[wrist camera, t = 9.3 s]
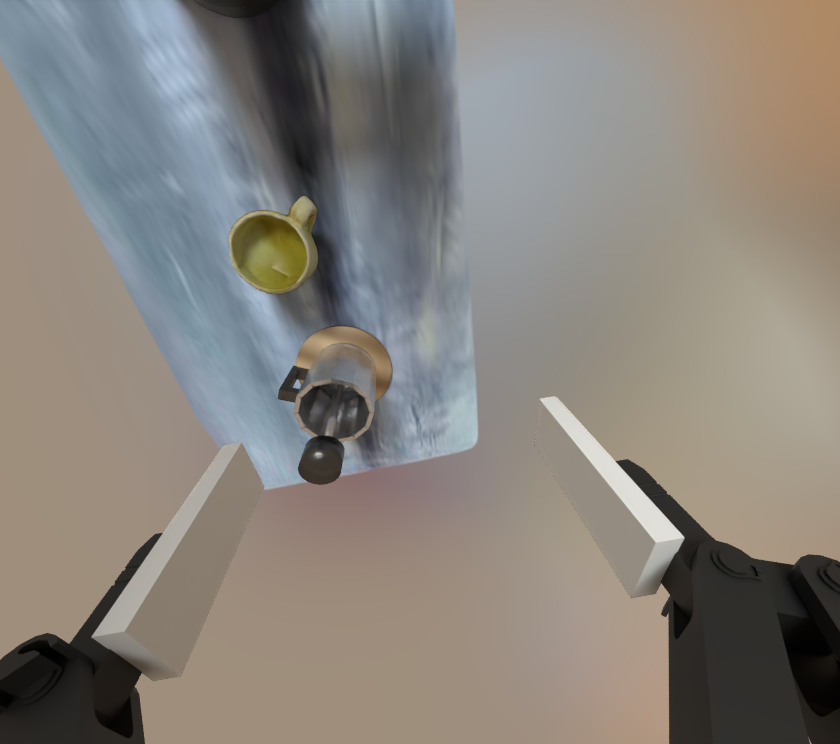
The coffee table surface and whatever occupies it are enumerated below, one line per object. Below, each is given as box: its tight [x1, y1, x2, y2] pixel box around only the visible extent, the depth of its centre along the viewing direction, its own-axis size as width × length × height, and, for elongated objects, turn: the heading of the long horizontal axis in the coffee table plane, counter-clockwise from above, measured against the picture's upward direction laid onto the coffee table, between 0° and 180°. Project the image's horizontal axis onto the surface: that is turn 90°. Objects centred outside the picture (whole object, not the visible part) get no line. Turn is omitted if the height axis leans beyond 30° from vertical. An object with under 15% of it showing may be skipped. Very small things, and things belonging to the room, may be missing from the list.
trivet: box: [296, 326, 392, 401], centre depth 52 cm, size 16×16×1 cm
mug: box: [228, 196, 318, 294], centre depth 39 cm, size 12×10×10 cm
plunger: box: [298, 383, 359, 485], centre depth 41 cm, size 7×7×20 cm
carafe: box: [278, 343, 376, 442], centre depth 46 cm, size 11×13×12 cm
